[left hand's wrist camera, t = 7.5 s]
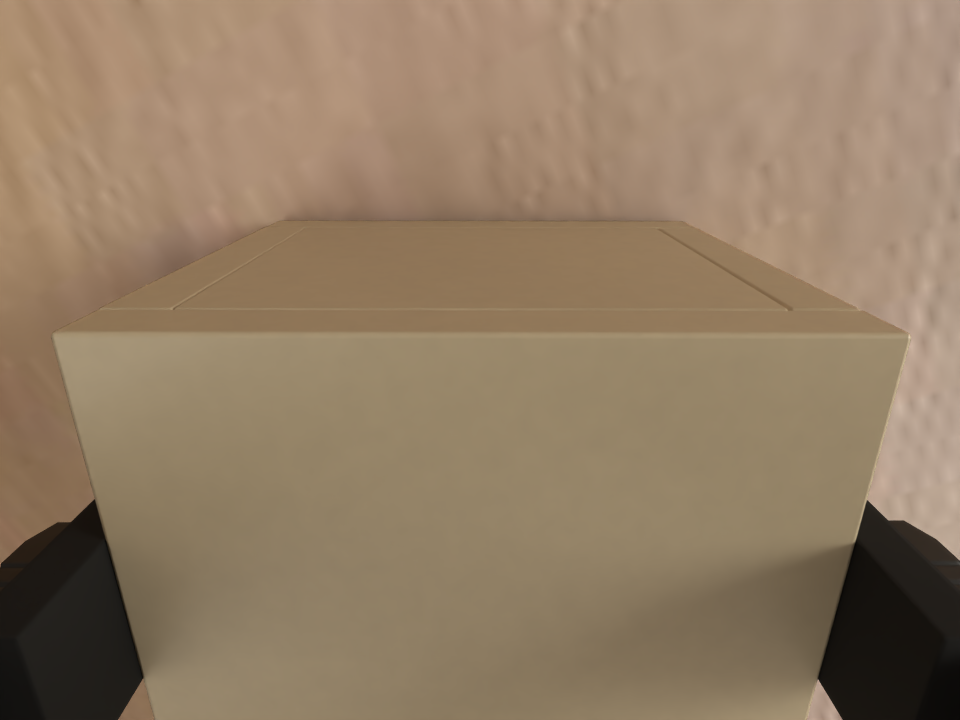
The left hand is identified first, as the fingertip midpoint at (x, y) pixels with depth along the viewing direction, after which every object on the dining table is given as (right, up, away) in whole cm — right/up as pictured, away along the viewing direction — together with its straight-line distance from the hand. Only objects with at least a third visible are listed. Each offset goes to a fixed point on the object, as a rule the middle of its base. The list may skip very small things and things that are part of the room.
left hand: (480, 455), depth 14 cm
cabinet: (0, -2, +6) cm, 6 cm away
